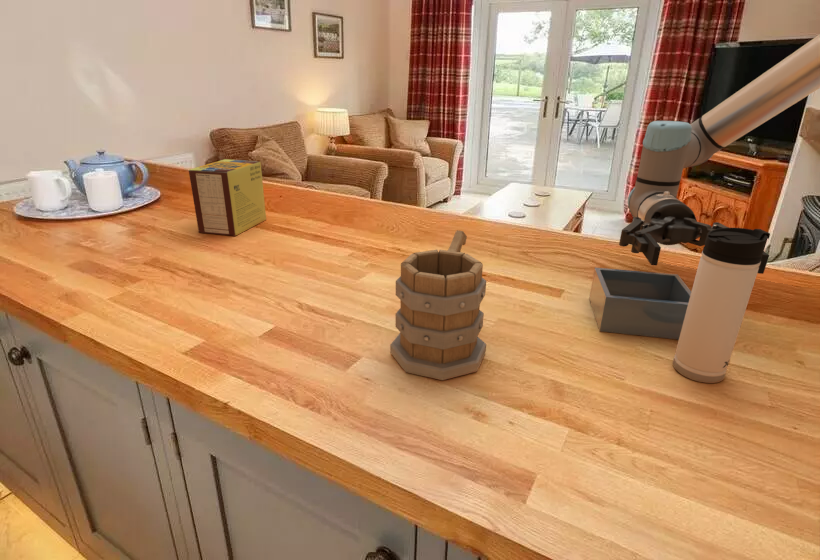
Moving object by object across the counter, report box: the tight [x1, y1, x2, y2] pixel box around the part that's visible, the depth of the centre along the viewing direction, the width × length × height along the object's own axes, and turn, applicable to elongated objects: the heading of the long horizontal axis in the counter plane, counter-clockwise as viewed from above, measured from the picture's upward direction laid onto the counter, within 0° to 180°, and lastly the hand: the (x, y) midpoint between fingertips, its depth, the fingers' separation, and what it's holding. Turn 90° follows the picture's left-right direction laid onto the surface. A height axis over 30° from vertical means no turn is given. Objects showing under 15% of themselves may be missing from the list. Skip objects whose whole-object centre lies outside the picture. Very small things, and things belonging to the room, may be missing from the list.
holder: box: [588, 267, 692, 341], centre depth 80 cm, size 14×13×6 cm
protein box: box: [188, 158, 267, 237], centre depth 123 cm, size 10×15×16 cm
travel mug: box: [672, 227, 771, 384], centre depth 63 cm, size 6×7×20 cm
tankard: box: [389, 229, 487, 381], centre depth 70 cm, size 20×13×15 cm, turn 160°
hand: (708, 260), depth 68 cm, fingers open, 13 cm apart
